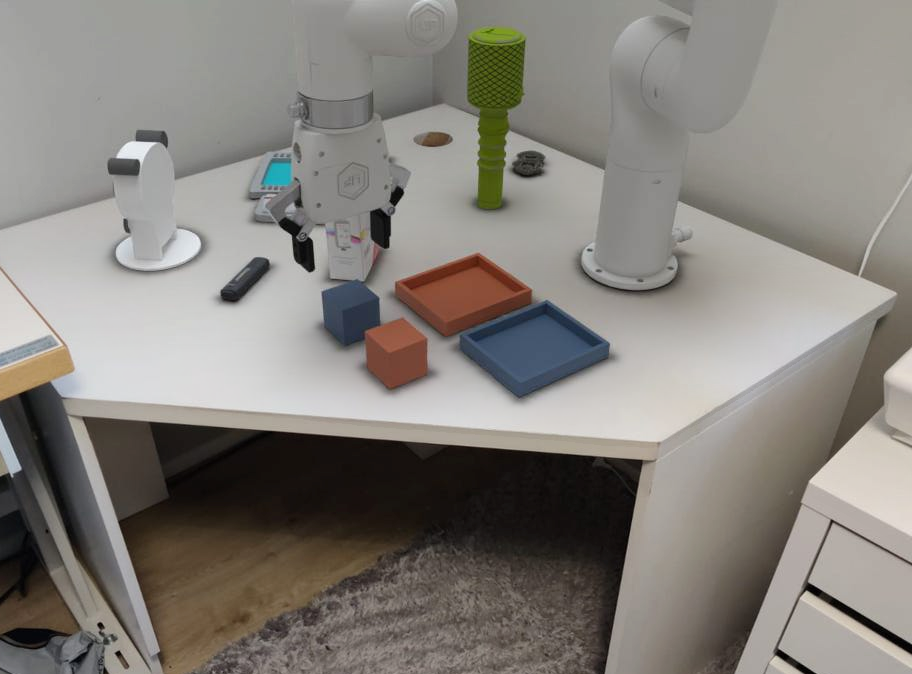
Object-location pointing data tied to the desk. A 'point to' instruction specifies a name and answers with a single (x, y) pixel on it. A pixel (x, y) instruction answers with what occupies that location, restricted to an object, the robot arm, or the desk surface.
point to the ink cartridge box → (350, 247)
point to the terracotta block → (396, 352)
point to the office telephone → (271, 183)
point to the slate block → (350, 311)
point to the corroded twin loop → (529, 162)
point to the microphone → (494, 101)
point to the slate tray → (533, 347)
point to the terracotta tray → (462, 293)
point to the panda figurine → (149, 205)
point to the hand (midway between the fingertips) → (343, 255)
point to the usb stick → (245, 278)
